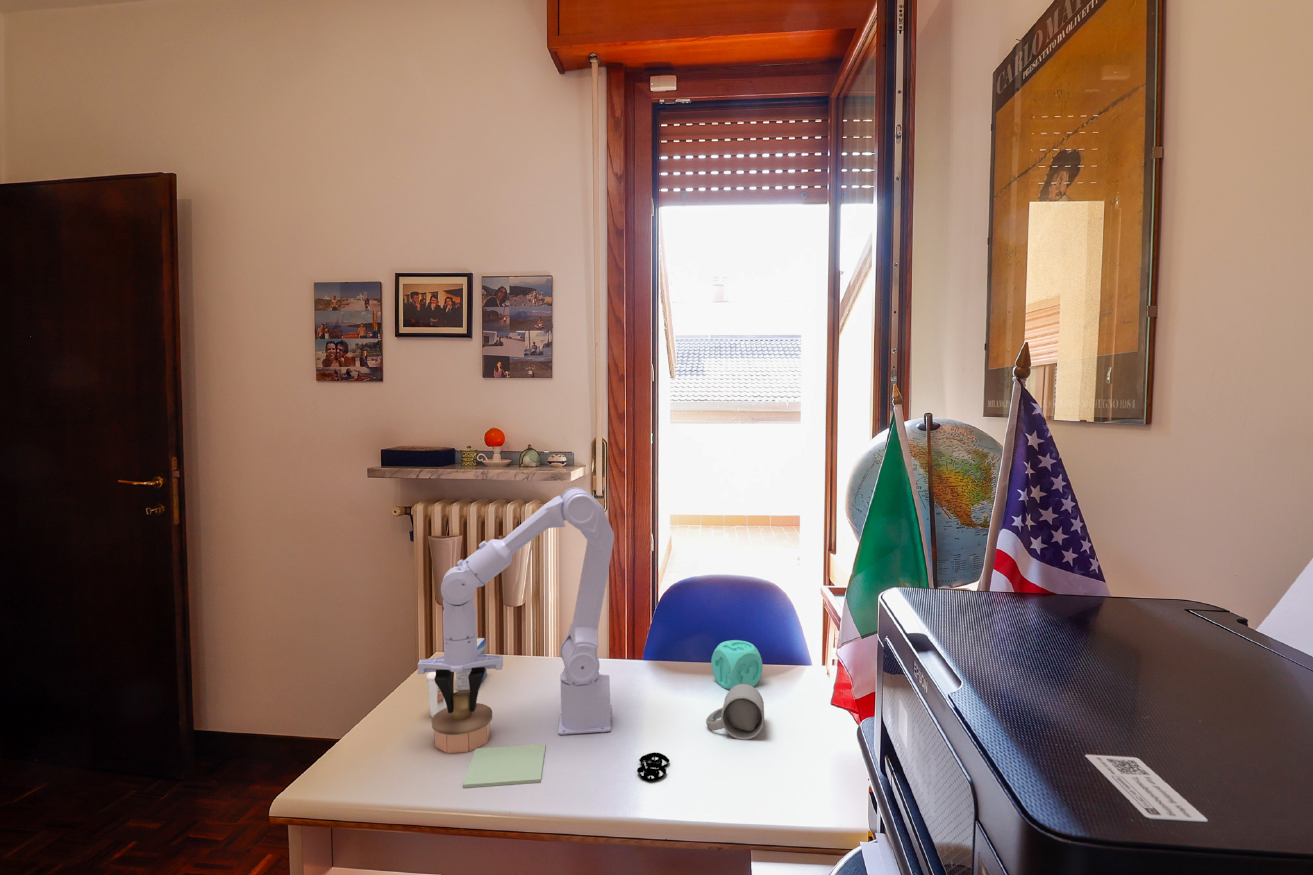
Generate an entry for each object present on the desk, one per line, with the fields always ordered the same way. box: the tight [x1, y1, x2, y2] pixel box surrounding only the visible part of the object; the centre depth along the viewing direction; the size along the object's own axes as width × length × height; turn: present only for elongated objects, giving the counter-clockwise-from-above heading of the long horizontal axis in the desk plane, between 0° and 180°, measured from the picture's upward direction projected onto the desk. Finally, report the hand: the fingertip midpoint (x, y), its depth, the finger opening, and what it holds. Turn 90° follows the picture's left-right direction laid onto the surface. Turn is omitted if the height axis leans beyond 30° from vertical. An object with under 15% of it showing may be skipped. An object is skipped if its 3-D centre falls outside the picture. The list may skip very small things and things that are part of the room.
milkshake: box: [425, 672, 447, 718], centre depth 125 cm, size 4×5×10 cm
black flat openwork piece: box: [636, 752, 670, 783], centre depth 105 cm, size 5×8×1 cm, turn 173°
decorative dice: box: [710, 639, 764, 691], centre depth 138 cm, size 8×8×8 cm
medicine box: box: [455, 637, 488, 691], centre depth 140 cm, size 8×4×9 cm, turn 179°
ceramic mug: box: [705, 684, 765, 741], centre depth 118 cm, size 11×8×8 cm
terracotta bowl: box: [434, 721, 491, 754], centre depth 115 cm, size 9×9×4 cm
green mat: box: [462, 743, 547, 789], centre depth 106 cm, size 12×11×1 cm
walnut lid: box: [431, 690, 493, 735], centre depth 115 cm, size 10×10×5 cm
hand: (462, 709), depth 115 cm, fingers closed on walnut lid, 3 cm apart
